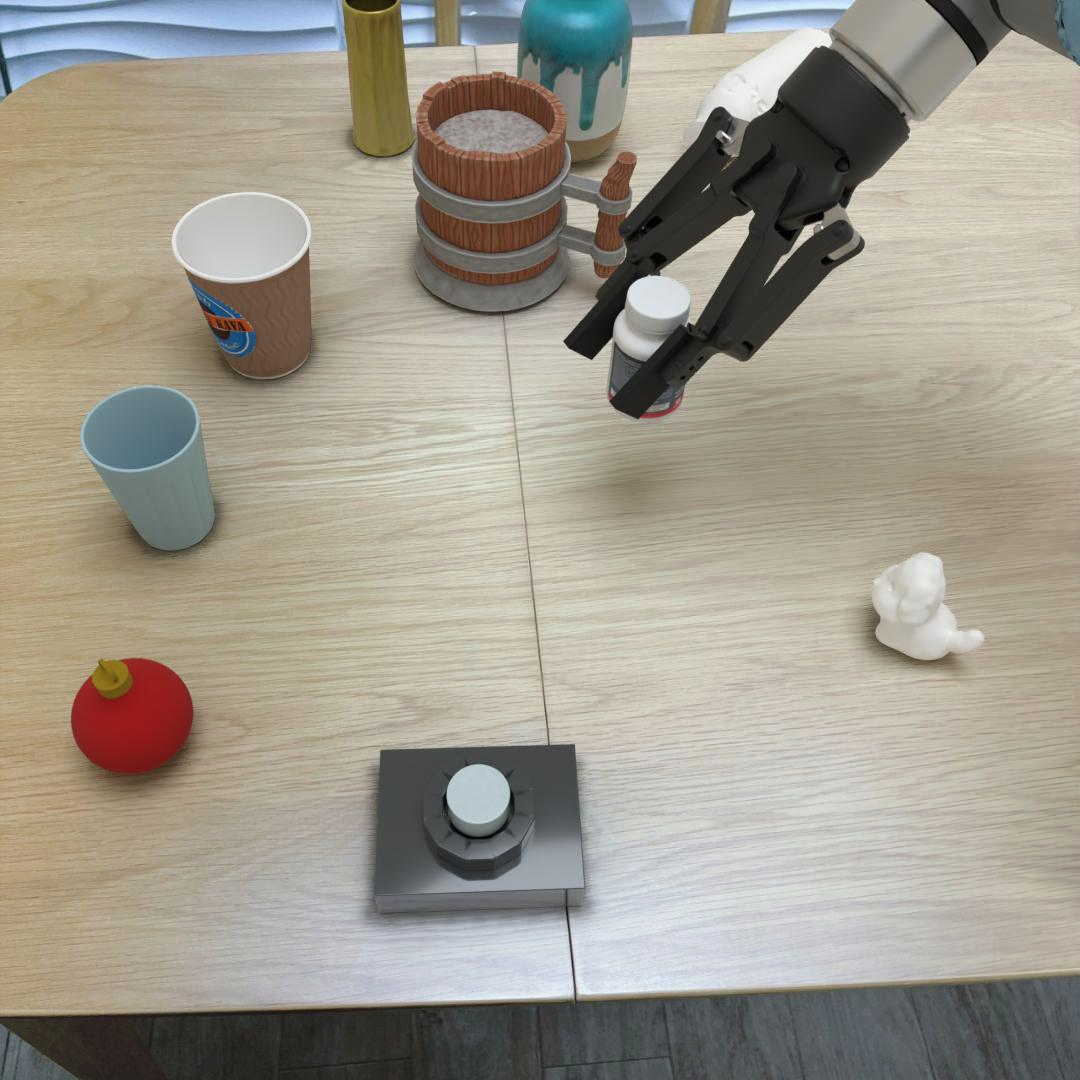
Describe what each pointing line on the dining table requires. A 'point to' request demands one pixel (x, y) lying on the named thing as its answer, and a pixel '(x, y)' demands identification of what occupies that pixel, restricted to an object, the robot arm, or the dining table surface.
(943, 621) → the figurine
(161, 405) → the cup
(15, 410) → the dining table surface
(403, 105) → the vase
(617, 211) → the mug
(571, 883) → the push button box
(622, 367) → the pill bottle
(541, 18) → the vase
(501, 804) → the grey short cylinder
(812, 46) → the white bottle
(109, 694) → the christmas ornament
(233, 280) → the coffee cup
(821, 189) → the robot arm
